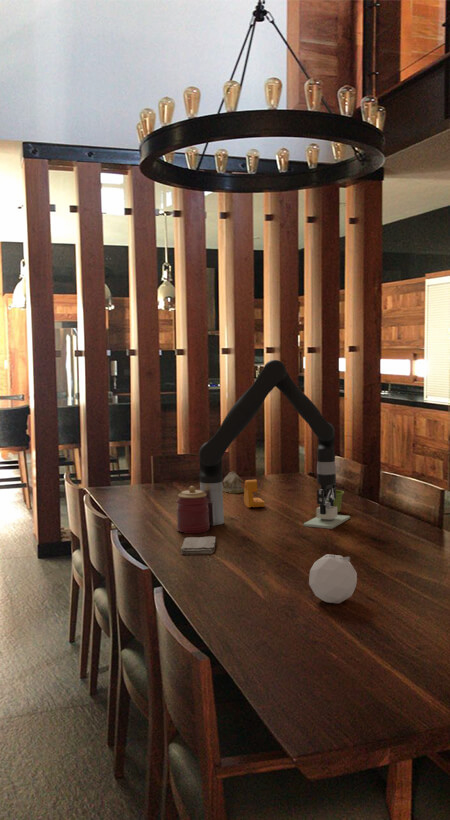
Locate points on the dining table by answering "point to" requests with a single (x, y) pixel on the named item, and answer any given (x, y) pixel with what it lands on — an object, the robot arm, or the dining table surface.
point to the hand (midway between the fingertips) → (327, 512)
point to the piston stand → (327, 520)
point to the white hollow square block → (327, 513)
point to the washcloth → (198, 545)
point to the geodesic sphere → (333, 578)
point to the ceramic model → (232, 483)
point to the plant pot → (338, 499)
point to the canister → (192, 511)
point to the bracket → (251, 494)
